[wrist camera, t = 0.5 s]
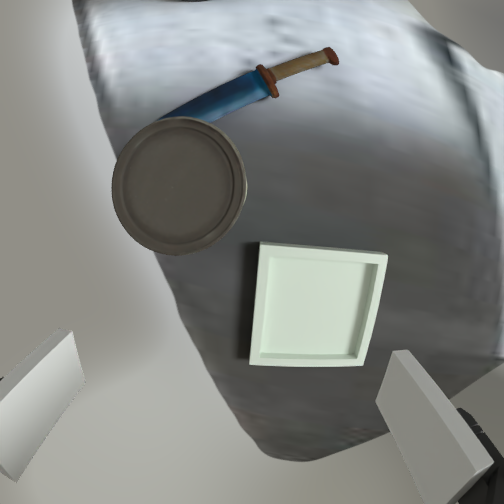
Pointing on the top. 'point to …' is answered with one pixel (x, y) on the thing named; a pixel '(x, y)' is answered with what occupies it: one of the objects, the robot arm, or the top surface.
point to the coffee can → (179, 185)
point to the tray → (315, 305)
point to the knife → (249, 87)
